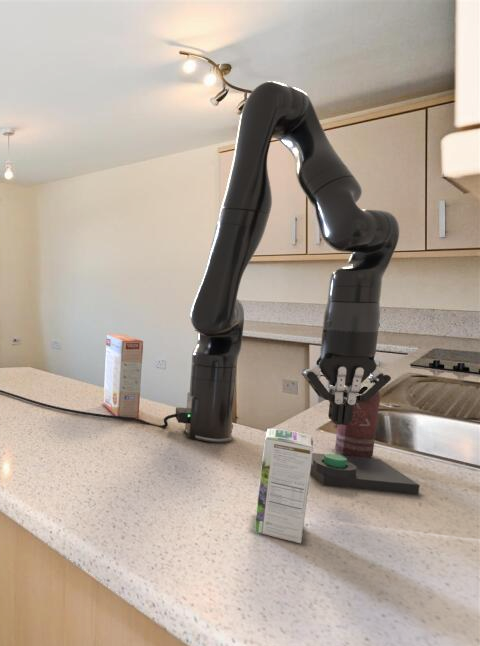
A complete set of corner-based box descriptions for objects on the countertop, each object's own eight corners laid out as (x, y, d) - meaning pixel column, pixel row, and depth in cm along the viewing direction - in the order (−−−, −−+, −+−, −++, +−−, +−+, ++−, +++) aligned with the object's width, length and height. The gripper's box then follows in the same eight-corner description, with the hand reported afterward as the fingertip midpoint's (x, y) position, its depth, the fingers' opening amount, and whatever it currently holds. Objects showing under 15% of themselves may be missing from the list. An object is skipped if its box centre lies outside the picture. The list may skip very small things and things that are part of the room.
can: (380, 461, 95) (389, 393, 93) (345, 458, 96) (352, 392, 94) (362, 450, 100) (369, 386, 98) (328, 448, 102) (335, 385, 100)
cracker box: (140, 419, 123) (144, 340, 120) (117, 419, 123) (120, 340, 120) (123, 404, 136) (126, 333, 134) (102, 404, 136) (105, 333, 134)
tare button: (328, 467, 84) (329, 459, 83) (320, 460, 87) (321, 452, 86) (349, 469, 83) (350, 461, 83) (340, 462, 86) (341, 454, 86)
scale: (320, 486, 83) (322, 467, 83) (293, 460, 95) (294, 443, 95) (420, 496, 79) (423, 477, 79) (378, 468, 91) (380, 450, 91)
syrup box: (256, 516, 73) (264, 426, 71) (303, 527, 70) (312, 434, 68) (254, 532, 68) (262, 437, 66) (303, 545, 65) (314, 445, 63)
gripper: (383, 326, 83) (371, 420, 85) (297, 324, 87) (288, 414, 89) (410, 331, 76) (396, 433, 78) (315, 328, 80) (305, 426, 82)
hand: (339, 423), depth 84 cm, fingers closed
